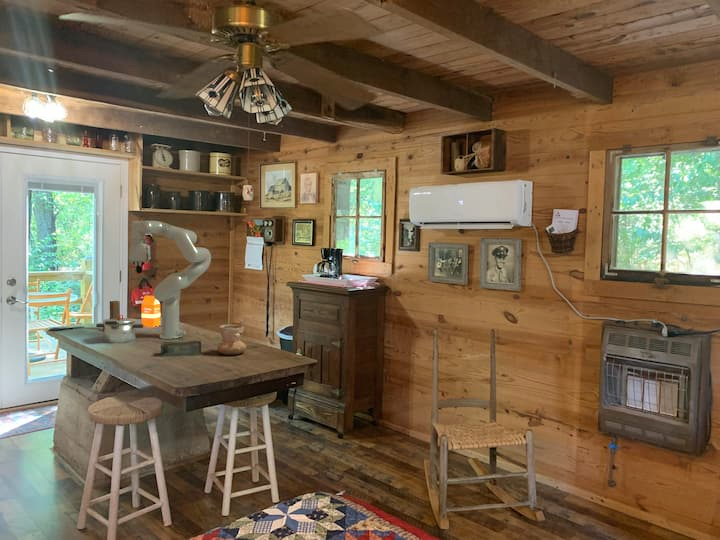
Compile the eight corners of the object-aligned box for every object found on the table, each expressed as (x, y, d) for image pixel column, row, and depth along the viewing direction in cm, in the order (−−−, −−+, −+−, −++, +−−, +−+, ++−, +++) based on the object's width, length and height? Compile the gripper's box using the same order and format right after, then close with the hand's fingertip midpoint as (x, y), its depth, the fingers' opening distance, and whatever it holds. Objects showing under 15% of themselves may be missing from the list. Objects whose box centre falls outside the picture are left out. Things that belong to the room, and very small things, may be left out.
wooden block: (105, 331, 338) (105, 302, 337) (102, 330, 341) (102, 301, 340) (120, 329, 345) (119, 301, 344) (116, 328, 348) (116, 300, 347)
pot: (149, 338, 320) (148, 321, 320) (136, 343, 303) (136, 325, 303) (105, 337, 321) (105, 320, 320) (90, 343, 304) (90, 325, 303)
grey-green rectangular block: (162, 353, 282) (162, 340, 282) (201, 352, 286) (201, 339, 286) (160, 357, 274) (160, 343, 274) (200, 355, 278) (200, 342, 278)
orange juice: (153, 327, 355) (153, 296, 353) (141, 326, 357) (141, 296, 355) (160, 325, 362) (160, 295, 361) (148, 324, 364) (148, 294, 363)
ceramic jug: (251, 355, 281) (252, 327, 280) (224, 358, 272) (224, 329, 272) (237, 349, 295) (237, 322, 295) (211, 352, 287) (211, 324, 286)
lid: (141, 320, 319) (141, 314, 319) (126, 324, 300) (126, 318, 300) (112, 319, 320) (112, 313, 320) (95, 324, 300) (95, 317, 300)
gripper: (153, 242, 328) (154, 272, 330) (129, 241, 329) (129, 272, 330) (148, 242, 321) (149, 273, 322) (123, 242, 321) (123, 273, 322)
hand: (139, 273), depth 326 cm, fingers closed
